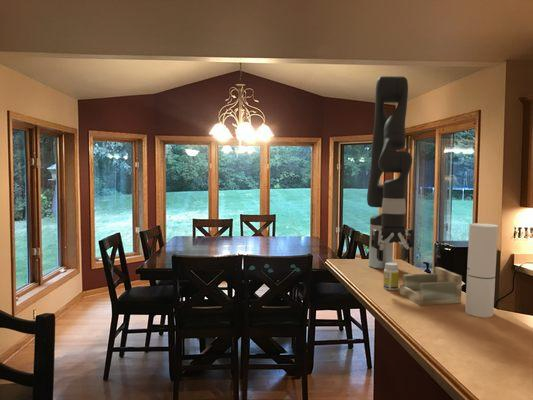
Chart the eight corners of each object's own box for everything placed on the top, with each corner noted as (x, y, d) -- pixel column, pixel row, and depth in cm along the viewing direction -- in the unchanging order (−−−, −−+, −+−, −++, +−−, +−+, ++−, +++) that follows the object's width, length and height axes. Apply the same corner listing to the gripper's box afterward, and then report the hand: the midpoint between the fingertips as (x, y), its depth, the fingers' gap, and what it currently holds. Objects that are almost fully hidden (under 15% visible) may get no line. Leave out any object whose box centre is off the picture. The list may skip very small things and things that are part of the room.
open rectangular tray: (399, 293, 143) (400, 268, 142) (437, 291, 146) (438, 266, 145) (419, 305, 131) (420, 278, 130) (460, 302, 134) (462, 276, 133)
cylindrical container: (487, 309, 128) (491, 223, 126) (497, 317, 121) (502, 227, 119) (461, 308, 129) (465, 222, 127) (470, 316, 122) (474, 226, 120)
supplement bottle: (399, 287, 150) (400, 263, 149) (397, 291, 146) (397, 266, 145) (384, 285, 152) (385, 261, 151) (382, 289, 148) (382, 264, 147)
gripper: (407, 210, 152) (405, 257, 153) (368, 211, 149) (367, 258, 150) (419, 212, 144) (417, 262, 145) (378, 213, 141) (377, 263, 142)
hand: (392, 260), depth 148 cm, fingers open, 8 cm apart
